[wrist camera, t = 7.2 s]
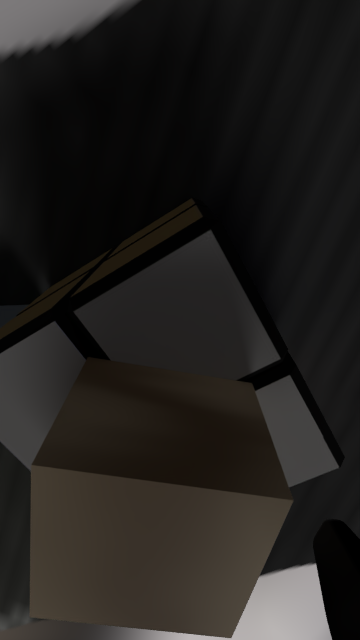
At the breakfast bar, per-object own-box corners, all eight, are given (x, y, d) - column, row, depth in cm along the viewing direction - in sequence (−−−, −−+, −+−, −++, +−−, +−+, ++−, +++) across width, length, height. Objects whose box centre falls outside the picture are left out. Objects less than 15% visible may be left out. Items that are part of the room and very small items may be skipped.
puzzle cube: (276, 340, 21) (353, 470, 11) (142, 407, 23) (116, 562, 13) (196, 193, 17) (215, 209, 8) (48, 287, 19) (-73, 384, 10)
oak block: (77, 479, 12) (30, 617, 8) (88, 356, 10) (30, 465, 6) (215, 497, 12) (231, 637, 8) (252, 383, 10) (293, 500, 6)
